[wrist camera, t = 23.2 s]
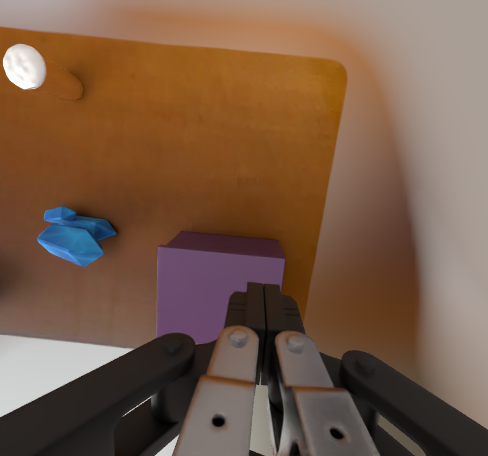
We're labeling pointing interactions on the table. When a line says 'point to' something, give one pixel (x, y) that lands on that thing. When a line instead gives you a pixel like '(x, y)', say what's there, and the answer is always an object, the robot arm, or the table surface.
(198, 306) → the lid
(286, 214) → the table surface
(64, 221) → the gemstones
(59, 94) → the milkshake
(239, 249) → the box
